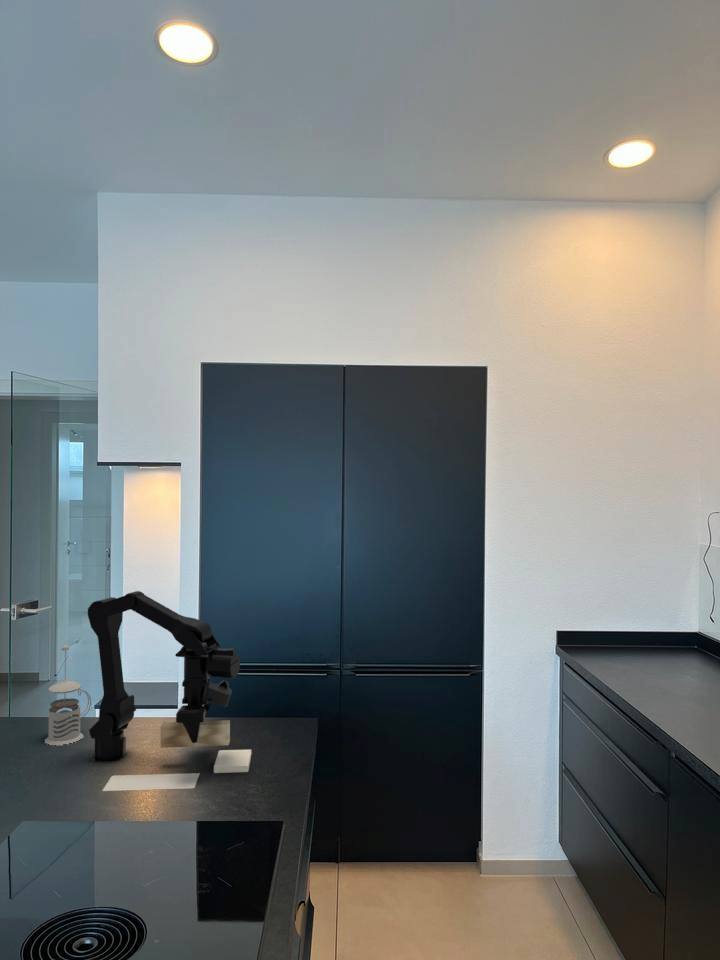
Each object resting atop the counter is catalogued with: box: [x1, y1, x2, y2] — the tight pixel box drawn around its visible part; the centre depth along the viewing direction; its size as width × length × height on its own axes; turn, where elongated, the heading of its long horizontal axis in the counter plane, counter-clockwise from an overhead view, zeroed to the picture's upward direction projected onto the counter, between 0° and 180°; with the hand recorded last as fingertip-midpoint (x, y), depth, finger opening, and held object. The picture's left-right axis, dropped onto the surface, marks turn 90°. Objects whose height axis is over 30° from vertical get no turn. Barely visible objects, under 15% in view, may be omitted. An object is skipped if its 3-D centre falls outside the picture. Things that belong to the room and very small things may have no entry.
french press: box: [43, 644, 92, 746], centre depth 183 cm, size 10×12×25 cm
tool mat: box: [101, 772, 200, 792], centre depth 154 cm, size 20×8×1 cm, turn 95°
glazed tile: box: [213, 749, 252, 774], centre depth 165 cm, size 2×10×8 cm
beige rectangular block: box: [160, 719, 231, 749], centre depth 164 cm, size 16×3×5 cm, turn 95°
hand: (195, 740), depth 164 cm, fingers closed on beige rectangular block, 3 cm apart
